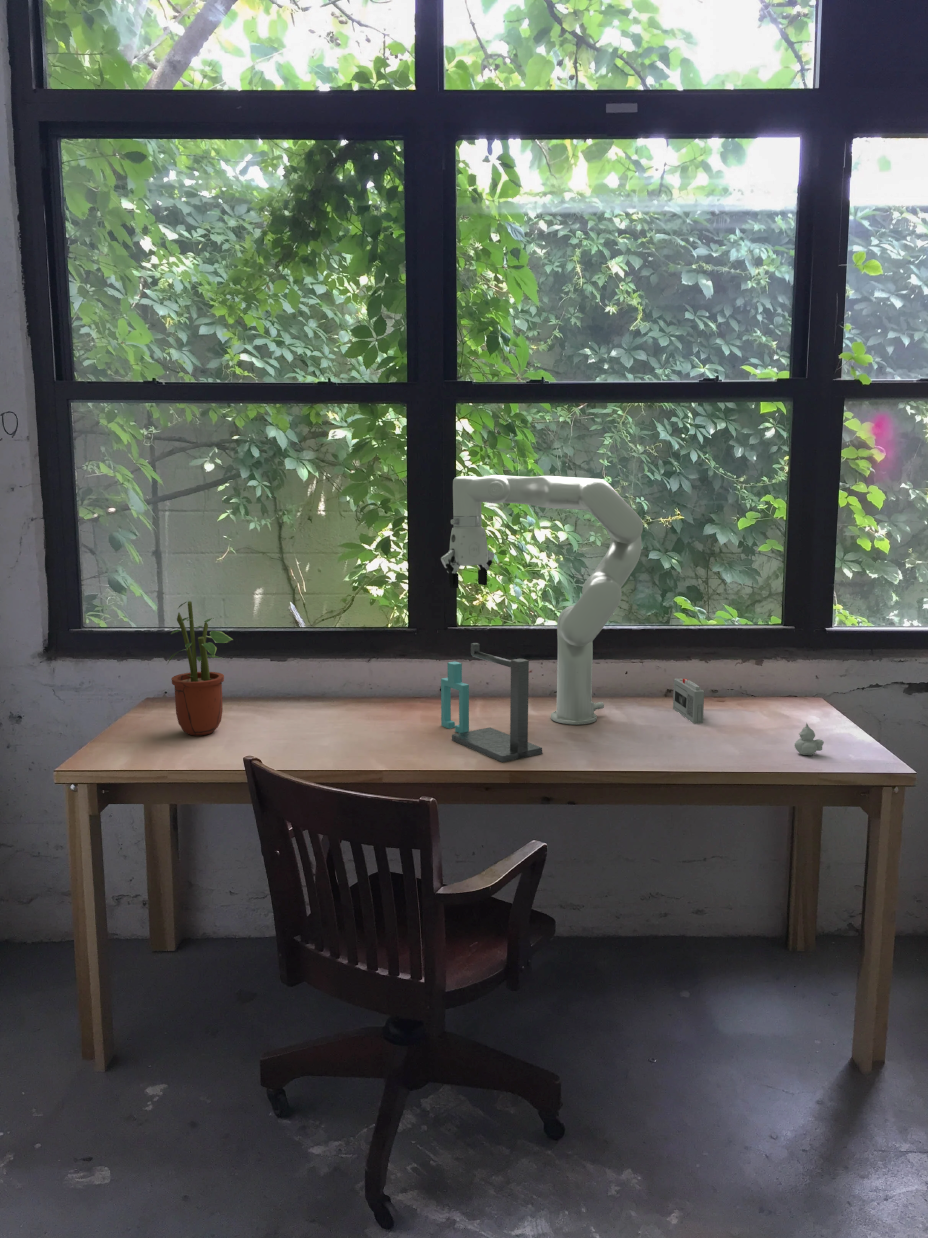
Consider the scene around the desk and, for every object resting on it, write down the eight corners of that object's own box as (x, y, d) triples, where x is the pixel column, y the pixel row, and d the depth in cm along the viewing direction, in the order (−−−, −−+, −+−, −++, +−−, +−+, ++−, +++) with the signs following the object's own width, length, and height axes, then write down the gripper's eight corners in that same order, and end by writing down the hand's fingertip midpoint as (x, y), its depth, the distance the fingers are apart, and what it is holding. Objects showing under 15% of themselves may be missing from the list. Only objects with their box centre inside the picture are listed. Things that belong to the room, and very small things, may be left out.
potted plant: (211, 741, 228) (205, 604, 223) (155, 737, 231) (148, 602, 226) (242, 723, 245) (237, 595, 240) (189, 719, 248) (183, 593, 243)
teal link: (469, 733, 236) (469, 665, 233) (461, 734, 234) (461, 666, 231) (448, 724, 244) (447, 659, 241) (440, 726, 242) (440, 660, 240)
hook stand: (490, 732, 236) (490, 640, 232) (542, 753, 218) (543, 653, 215) (451, 740, 229) (451, 645, 225) (502, 762, 212) (503, 659, 208)
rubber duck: (792, 750, 221) (794, 719, 220) (820, 752, 220) (822, 720, 219) (796, 757, 216) (798, 725, 215) (825, 758, 215) (827, 726, 214)
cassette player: (672, 709, 261) (674, 675, 259) (681, 708, 261) (683, 675, 259) (693, 723, 245) (694, 688, 244) (702, 723, 246) (704, 687, 244)
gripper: (449, 524, 233) (450, 590, 236) (501, 521, 244) (502, 584, 246) (433, 523, 239) (434, 587, 242) (484, 520, 249) (485, 582, 252)
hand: (468, 586), depth 244 cm, fingers open, 9 cm apart
